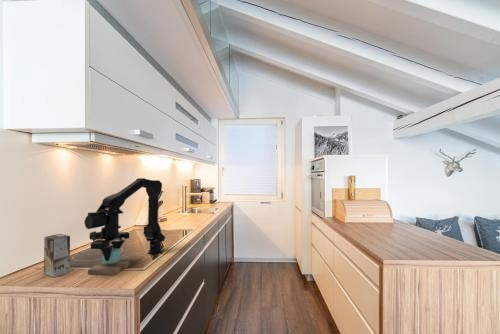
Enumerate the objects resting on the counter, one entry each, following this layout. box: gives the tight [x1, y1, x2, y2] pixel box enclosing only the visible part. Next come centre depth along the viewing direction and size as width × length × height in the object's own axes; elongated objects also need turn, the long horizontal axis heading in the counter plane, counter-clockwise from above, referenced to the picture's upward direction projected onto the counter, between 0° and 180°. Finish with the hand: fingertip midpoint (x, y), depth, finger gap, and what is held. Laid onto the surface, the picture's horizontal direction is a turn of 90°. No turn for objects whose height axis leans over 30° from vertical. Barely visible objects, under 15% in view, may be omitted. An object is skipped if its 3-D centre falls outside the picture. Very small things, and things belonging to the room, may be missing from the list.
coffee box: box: [43, 233, 71, 278], centre depth 104 cm, size 9×6×16 cm
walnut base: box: [87, 258, 133, 276], centre depth 108 cm, size 13×12×2 cm
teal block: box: [101, 248, 121, 263], centre depth 108 cm, size 5×5×5 cm
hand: (111, 258), depth 108 cm, fingers closed on teal block, 5 cm apart
